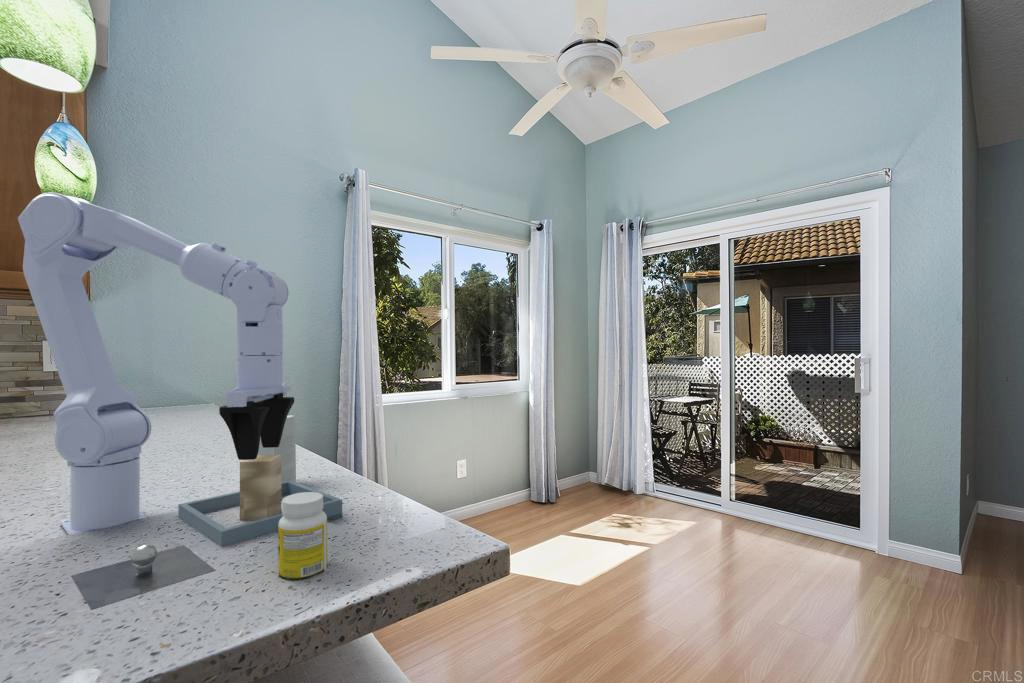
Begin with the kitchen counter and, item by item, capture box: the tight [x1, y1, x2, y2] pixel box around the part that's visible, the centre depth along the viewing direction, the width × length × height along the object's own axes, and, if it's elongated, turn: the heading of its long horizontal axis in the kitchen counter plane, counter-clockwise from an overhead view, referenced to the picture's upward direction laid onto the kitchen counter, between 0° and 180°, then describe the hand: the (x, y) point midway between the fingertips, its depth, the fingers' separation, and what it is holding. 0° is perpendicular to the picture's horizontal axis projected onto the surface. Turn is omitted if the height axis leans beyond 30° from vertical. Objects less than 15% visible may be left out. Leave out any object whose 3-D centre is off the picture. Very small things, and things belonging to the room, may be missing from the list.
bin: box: [177, 480, 343, 548], centre depth 68 cm, size 16×16×2 cm
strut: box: [239, 455, 282, 521], centre depth 68 cm, size 4×4×8 cm
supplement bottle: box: [277, 492, 328, 582], centre depth 51 cm, size 5×5×8 cm
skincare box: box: [258, 414, 297, 483], centre depth 85 cm, size 6×4×12 cm
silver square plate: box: [70, 543, 216, 611], centre depth 51 cm, size 10×10×4 cm
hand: (259, 452), depth 68 cm, fingers open, 7 cm apart
